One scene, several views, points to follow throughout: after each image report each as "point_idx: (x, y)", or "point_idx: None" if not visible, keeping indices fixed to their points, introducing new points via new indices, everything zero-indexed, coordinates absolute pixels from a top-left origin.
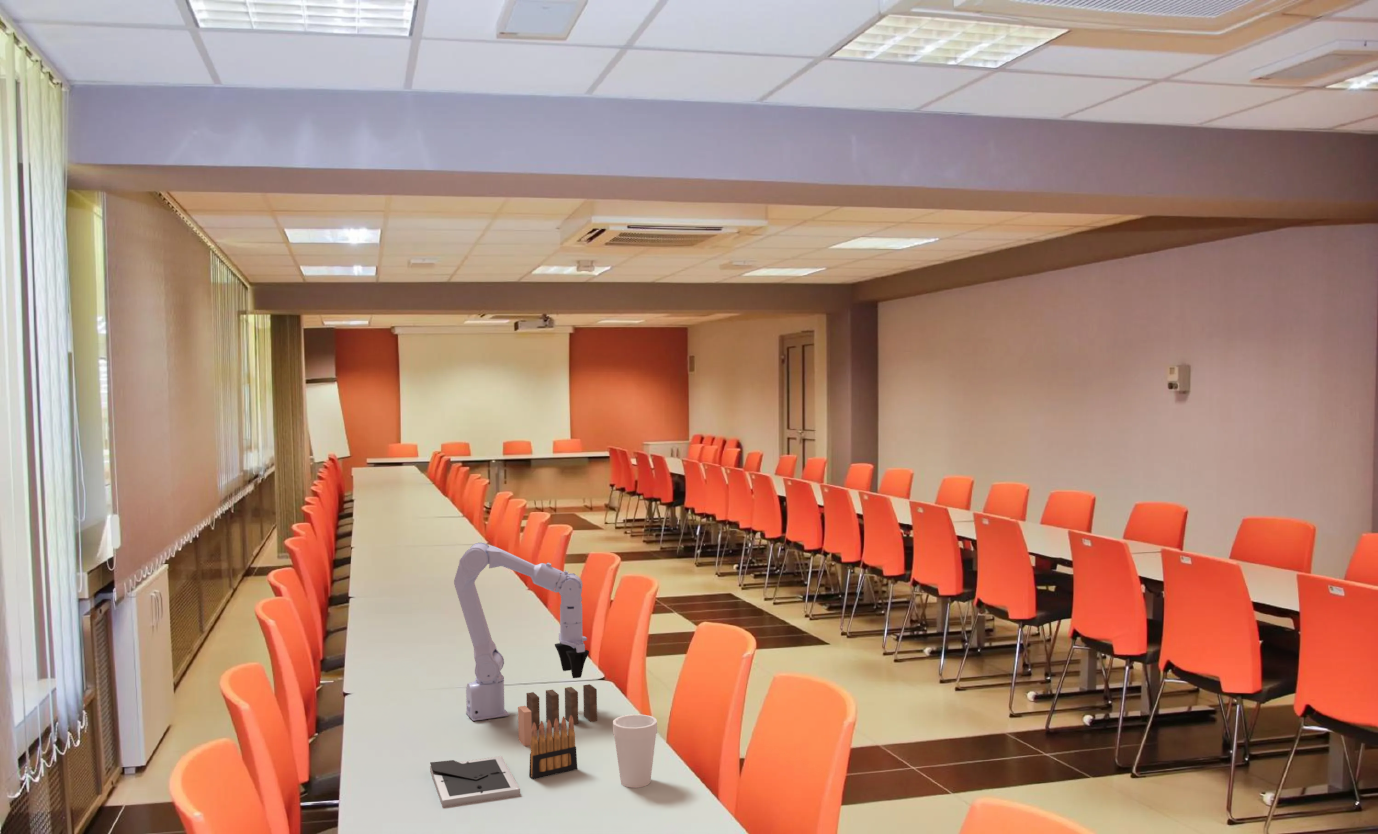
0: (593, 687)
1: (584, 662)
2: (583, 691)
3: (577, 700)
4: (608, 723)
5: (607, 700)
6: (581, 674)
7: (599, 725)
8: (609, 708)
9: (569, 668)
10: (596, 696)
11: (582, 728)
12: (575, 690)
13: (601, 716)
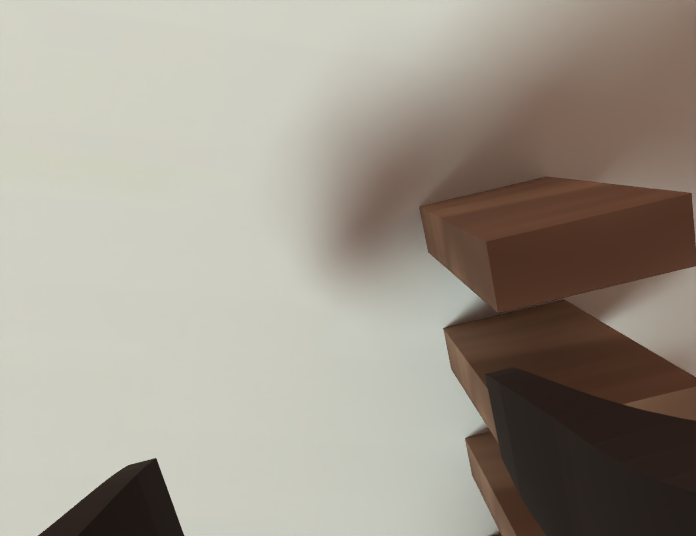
0: (614, 218)
1: (674, 418)
2: (480, 295)
3: (656, 357)
4: (629, 109)
5: (93, 33)
6: (532, 374)
7: (646, 174)
8: (303, 50)
9: (156, 489)
10: (643, 190)
11: (663, 284)
12: (652, 401)
13: (470, 135)
